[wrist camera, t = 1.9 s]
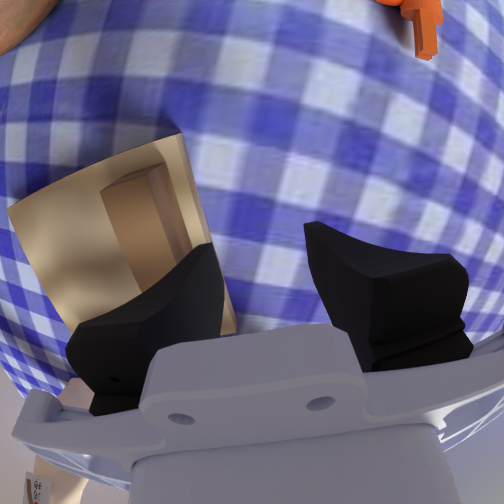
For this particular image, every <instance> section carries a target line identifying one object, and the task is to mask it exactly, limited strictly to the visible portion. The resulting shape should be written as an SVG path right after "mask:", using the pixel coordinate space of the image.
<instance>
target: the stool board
mask: <svg viewBox="0 0 504 504" xmlns="http://www.w3.org/2000/svg"><path fill="white" fill-rule="evenodd" d="M165 161H166V164H167V167H168V171H169V174H170V178H171V181H172V184H173V188H174V191H175V194H176V198H177V201H178V204H179V207H180V210H181V214H182V217H183V220H184V223H185V226H186V229H187V232H188V235H189V238H190V241H191V244H192V247H193V249H194V248H195V247H196V246H197V245H200V244H204V243H209V242H212V238H211V235H210V232H209V228H208V225H207V222H206V218H205V215H204V211H203V208H202V204H201V201H200V197H199V194H198V190H197V187H196V183H195V179H194V176H193V172H192V168H191V165H190V161H189V157H188V154H187V150H186V146H185V142H184V138H183V135H182V133H179V134H175V135H172V136H169V137H166V138H162V139H159V140H156V141H153V142H150V143H147V144H144V145H141V146H139V147H136V148H133V149H130V150H127V151H125V152H122V153H120V154H117V155H114V156H112V157H109V158H107V159H104V160H102V161H99V162H97V163H95V164H92V165H90V166H88V167H85V168H83V169H81V170H79V171H77V172H74V173H72V174H70V175H68V176H66V177H64V178H62V179H60V180H58V181H56V182H54V183H52V184H50V185H48V186H46V187H44V188H42V189H40V190H38V191H36V192H34V193H33V194H31V195H29V196H27V197H25V198H24V199H22V200H20V201H19V202H17V203H15V204H14V205H12V206H10V207H9V208H7V212H8V215H9V217H10V220H11V222H12V225H13V227H14V230H15V232H16V234H17V237H18V239H19V241H20V243H21V246H22V248H23V250H24V252H25V254H26V256H27V258H28V260H29V262H30V264H31V266H32V268H33V270H34V272H35V274H36V276H37V278H38V280H39V281H40V283H41V285H42V287H43V289H44V290H45V292H46V294H47V296H48V297H49V299H50V301H51V302H52V304H53V306H54V307H55V309H56V310H57V312H58V314H59V315H60V317H61V318H62V320H63V321H64V323H65V324H66V326H67V327H68V329H69V330H70V332H71V333H72V334H73V333H74V331H75V329H76V328H77V326H78V324H79V323H82V322H84V321H87V320H90V319H92V318H95V317H97V316H100V315H102V314H105V313H107V312H109V311H111V310H113V309H115V308H117V307H119V306H121V305H123V304H125V303H127V302H128V301H130V300H132V299H133V298H135V297H136V296H138V295H140V294H141V293H142V292H141V290H140V288H139V286H138V284H137V282H136V280H135V278H134V276H133V273H132V271H131V269H130V267H129V265H128V262H127V260H126V258H125V256H124V253H123V251H122V249H121V246H120V244H119V242H118V239H117V237H116V234H115V232H114V230H113V227H112V225H111V222H110V219H109V217H108V214H107V212H106V209H105V206H104V203H103V201H102V198H101V195H100V192H99V191H101V190H102V189H104V188H105V187H107V186H108V185H110V184H111V183H113V182H114V181H116V180H118V179H119V178H121V177H122V176H124V175H126V174H128V173H131V172H134V171H137V170H140V169H143V168H146V167H149V166H152V165H156V164H159V163H162V162H165ZM212 243H213V242H212ZM213 247H214V245H213ZM214 250H215V248H214ZM215 253H216V252H215ZM216 257H217V255H216ZM217 260H218V258H217ZM218 263H219V261H218ZM219 266H220V265H219ZM220 269H221V268H220ZM221 273H222V271H221ZM222 276H223V274H222ZM223 279H224V278H223ZM224 291H225V301H224V309H223V317H222V325H221V333H220V335H227V334H234V333H236V325H237V318H236V315H235V312H234V309H233V306H232V303H231V300H230V296H229V293H228V290H227V287H226V284H225V281H224Z"/></svg>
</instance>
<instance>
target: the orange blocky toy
mask: <svg viewBox="0 0 504 504" xmlns="http://www.w3.org/2000/svg"><path fill="white" fill-rule="evenodd" d="M375 1H377V2H379V3H381V4H385V5H391V6H397V5H400V9H401V15H402V16H403V17H404V18H405V19H407V20H409V21H412V22H413V27H414V41H415V57H416V58H420V59H424V60H427V61H428V60H430V59H432V56H434V55H436V54H437V53H438V52H437V37H436V27H435V25H440V24H442V23H443V21H444V20H443V13H442V7H441V1H440V0H375Z"/></svg>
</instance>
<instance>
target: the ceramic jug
mask: <svg viewBox="0 0 504 504" xmlns="http://www.w3.org/2000/svg"><path fill="white" fill-rule="evenodd" d="M58 1H59V0H0V56H2V55H4V54H6V53H7V52H9V51H10V50H12V49H13V48H15V47H16V46H17V45H19V44H20V43H21V42H22V41H23V40H25V39H26V38H27V37H28V36H29V35H30V34H31V33H32V32H33V31H34V30H35V29H36V28H37V27H38V26H39V25H40V24H41V23H42V21H43V20H44V19H45V18H46V17H47V16H48V14H49V13H50V12H51V11H52V10H53V8H54V7H55V6H56V4H57V3H58Z"/></svg>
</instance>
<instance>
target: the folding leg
mask: <svg viewBox="0 0 504 504" xmlns="http://www.w3.org/2000/svg"><path fill="white" fill-rule="evenodd" d="M99 192H100V195H101V198H102V201H103V203H104V206H105V209H106V212H107V214H108V217H109V219H110V222H111V225H112V227H113V230H114V232H115V234H116V237H117V239H118V242H119V244H120V246H121V249H122V251H123V253H124V256H125V258H126V260H127V262H128V265H129V267H130V269H131V271H132V273H133V276H134V278H135V280H136V282H137V284H138V286H139V288H140V290H141V292H142V293H143V292H144V291H146V290H147V289H149V288H150V287H151V286H153V285H154V284H155V283H157V282H158V281H159V280H160V279H162V278H163V277H164V276H165V275H166V274H167V273H168V272H169V271H171V270H172V269H173V268H174V267H175V266H176V265H177V264H178V263H179V262H180V261H181V260H182V259H183V258H184V257H185V256H186V255H187V254H188V253H189V252H190V251H191V250H193V247H192V244H191V241H190V238H189V235H188V232H187V229H186V226H185V223H184V220H183V217H182V214H181V210H180V207H179V204H178V201H177V198H176V194H175V191H174V188H173V184H172V181H171V178H170V174H169V171H168V167H167V164H166V161H165V162H162V163H159V164H156V165H152V166H149V167H146V168H143V169H140V170H137V171H134V172H131V173H128V174H126V175H124V176H122V177H121V178H119V179H118V180H116V181H114V182H113V183H111V184H110V185H108V186H107V187H105V188H104V189H102V190H101V191H99Z"/></svg>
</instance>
